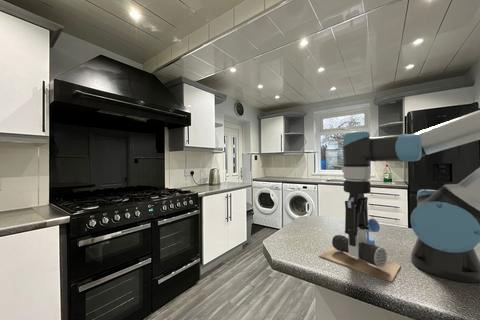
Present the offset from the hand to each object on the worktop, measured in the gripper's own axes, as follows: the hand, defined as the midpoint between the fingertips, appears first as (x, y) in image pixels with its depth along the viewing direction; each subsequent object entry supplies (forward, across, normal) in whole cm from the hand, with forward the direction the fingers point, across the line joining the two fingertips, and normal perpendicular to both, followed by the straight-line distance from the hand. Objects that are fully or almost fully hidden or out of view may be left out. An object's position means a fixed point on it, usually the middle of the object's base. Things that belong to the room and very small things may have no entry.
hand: (357, 252), depth 65 cm
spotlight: (+3, -19, -2) cm, 19 cm away
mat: (+3, 0, 0) cm, 3 cm away
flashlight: (+2, 0, 0) cm, 2 cm away
